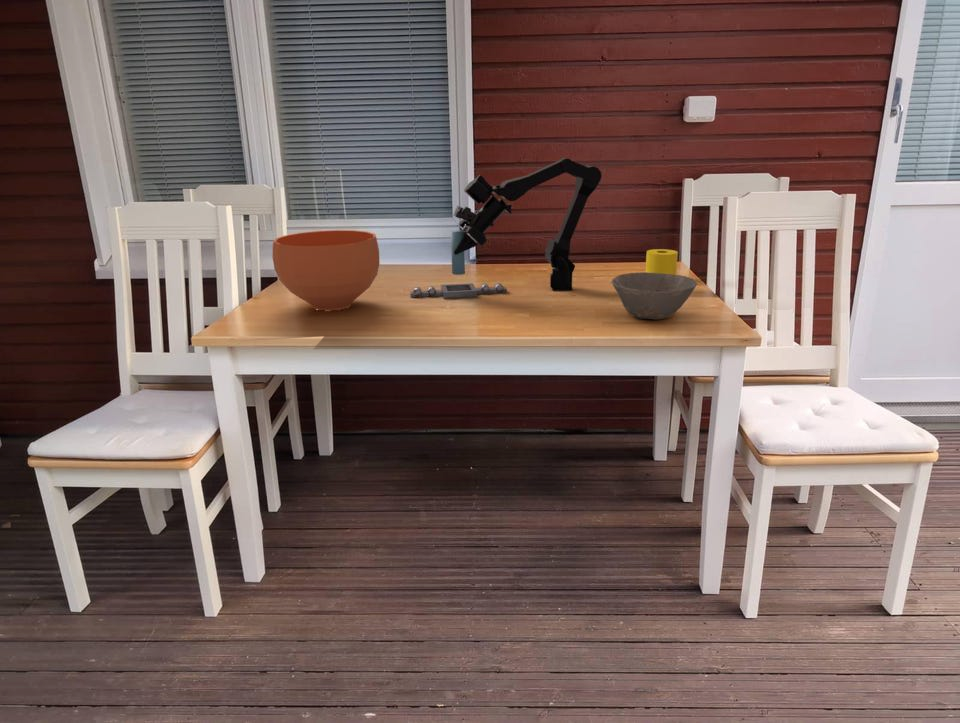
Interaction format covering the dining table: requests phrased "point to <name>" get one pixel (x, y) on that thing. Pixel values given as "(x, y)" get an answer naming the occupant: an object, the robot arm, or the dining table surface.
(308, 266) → the flowerpot
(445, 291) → the grey square frame handle
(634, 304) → the ceramic bowl
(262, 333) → the dining table surface
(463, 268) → the pin
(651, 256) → the tape roll
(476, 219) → the robot arm
